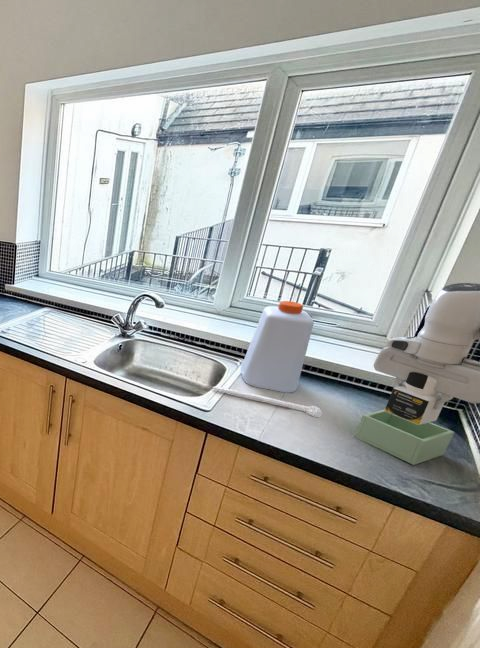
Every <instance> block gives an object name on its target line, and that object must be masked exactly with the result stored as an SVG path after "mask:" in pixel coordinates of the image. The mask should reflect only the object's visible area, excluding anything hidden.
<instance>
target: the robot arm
mask: <svg viewBox="0 0 480 648" xmlns="http://www.w3.org/2000/svg"><path fill="white" fill-rule="evenodd" d="M477 340H480V283H471V282H459V283H458V282H457V283H451V284H447V285H445V286H443V287H442V288H441V289H439V291H438V292H437V293H436V295H435V296H434V298H433V300H432V301H431V303H430V305H429V307H428V309H427V312H426V314H425V317H424V325H423V327H422V328H421V329H420V331H419V332H418V333H417V336H399V337H393V338H390V339H388V340H387V341H386V347H383V348H382V349H381V350H380V351H379V353H378V355H377V356H376V358H375V360H374V363H373V368H374V370H375V371H376V372H377V373H378V372H379V373H382V374H385V375H388V376H390V377H393V378H395V379H394V384H395V387H398V386H402V385H405V381H406V380H407V377H408V375H409V373H410V372H417V373H421V374H424V375H427V376H430V377H432V378H434V379H435V380H436V381H437V383H436V385H435V387H434V391H437V392H439V393H441V396H440V397H442V398H443V399H441V400H439V401H437V402H436V403H435V405H434V407H433V408H434V409H436V410H439V409H440V408H441V407H442V405H443V403H444V404H445V403H447V402H449V401H451V400H453V399H455V398H456V399H458V400H461V401H465V402H467V403H469V404H480V361H478V360H475V359H471V358H468V355H469V353H470V351H471V349H472V347H473V345H474V342H475V341H477ZM443 406H444V405H443ZM442 408H443V407H442Z"/></svg>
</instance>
